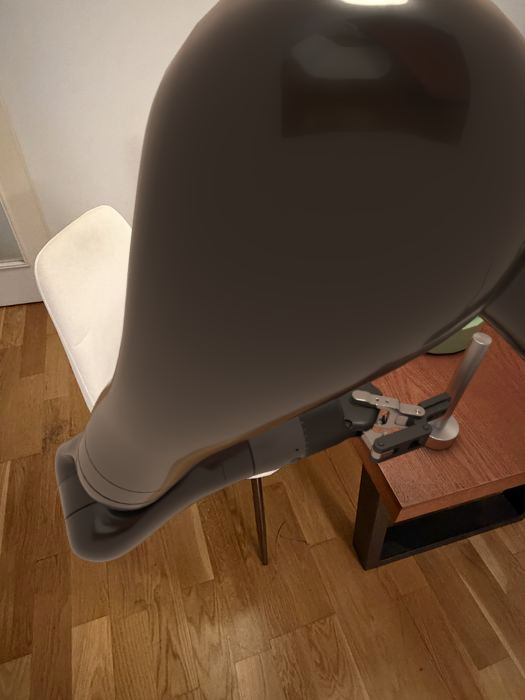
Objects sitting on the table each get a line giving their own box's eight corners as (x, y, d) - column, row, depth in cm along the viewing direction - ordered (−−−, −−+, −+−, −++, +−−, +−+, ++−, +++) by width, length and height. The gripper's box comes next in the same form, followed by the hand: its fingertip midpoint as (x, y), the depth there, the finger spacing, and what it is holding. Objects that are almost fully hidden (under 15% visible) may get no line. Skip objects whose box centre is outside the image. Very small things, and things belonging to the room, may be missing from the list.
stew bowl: (494, 327, 74) (508, 300, 69) (439, 371, 66) (452, 345, 61) (414, 283, 83) (422, 258, 79) (357, 317, 75) (363, 292, 71)
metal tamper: (461, 435, 57) (519, 340, 44) (438, 457, 54) (493, 363, 41) (427, 410, 60) (472, 315, 47) (404, 430, 57) (445, 335, 45)
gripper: (326, 463, 31) (483, 396, 36) (253, 347, 40) (386, 306, 45) (317, 506, 36) (455, 442, 41) (254, 394, 46) (373, 353, 50)
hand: (418, 371), depth 43 cm, fingers open, 8 cm apart
